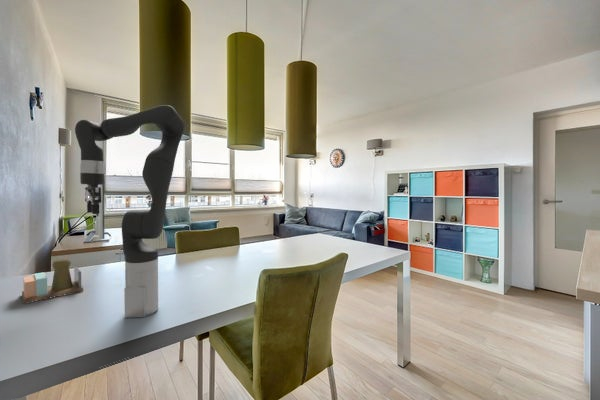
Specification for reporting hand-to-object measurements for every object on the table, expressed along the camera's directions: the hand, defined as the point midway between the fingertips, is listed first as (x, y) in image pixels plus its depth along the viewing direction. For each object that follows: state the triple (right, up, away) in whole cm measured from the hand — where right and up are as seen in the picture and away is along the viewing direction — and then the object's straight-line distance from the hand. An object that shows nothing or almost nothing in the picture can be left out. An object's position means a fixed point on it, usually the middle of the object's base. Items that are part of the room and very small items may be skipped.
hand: (93, 213), depth 105 cm
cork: (-9, -29, -4) cm, 30 cm away
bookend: (-6, -28, 0) cm, 29 cm away
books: (-14, -29, -9) cm, 33 cm away
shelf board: (-11, -30, -5) cm, 33 cm away
